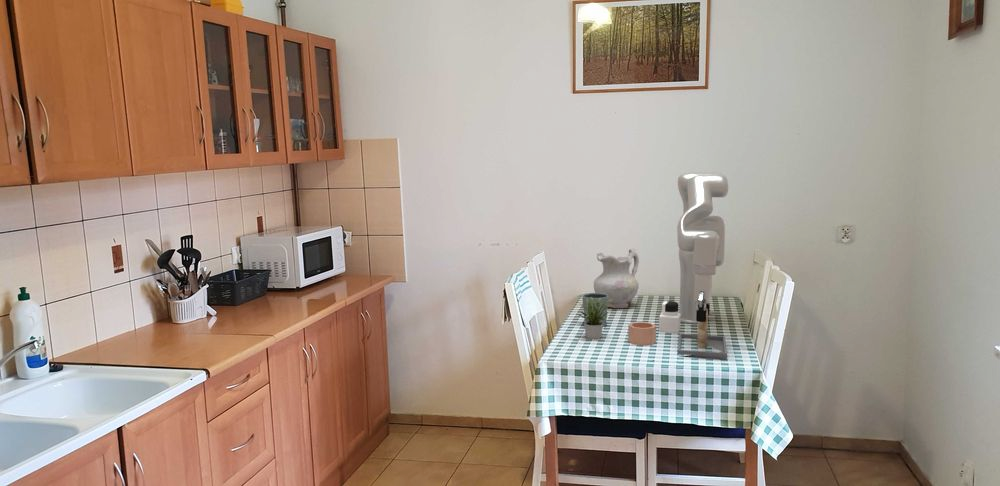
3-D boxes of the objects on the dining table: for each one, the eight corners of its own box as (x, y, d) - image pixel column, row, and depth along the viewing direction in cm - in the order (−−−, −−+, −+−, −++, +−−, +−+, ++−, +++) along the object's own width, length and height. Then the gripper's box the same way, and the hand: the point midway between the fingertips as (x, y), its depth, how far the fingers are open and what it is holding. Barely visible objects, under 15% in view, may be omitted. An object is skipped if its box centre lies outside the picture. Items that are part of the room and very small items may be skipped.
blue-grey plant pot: (610, 327, 283) (610, 297, 282) (584, 328, 282) (585, 298, 281) (604, 321, 293) (604, 292, 292) (579, 322, 292) (580, 292, 291)
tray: (679, 339, 265) (679, 333, 265) (725, 342, 261) (725, 336, 261) (677, 356, 244) (677, 350, 244) (727, 360, 240) (727, 353, 240)
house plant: (624, 339, 266) (624, 296, 263) (601, 347, 256) (601, 302, 254) (593, 333, 275) (593, 290, 273) (570, 340, 266) (570, 296, 264)
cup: (647, 340, 265) (647, 321, 264) (659, 346, 256) (659, 327, 255) (624, 342, 263) (625, 323, 262) (636, 348, 254) (636, 329, 253)
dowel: (703, 345, 254) (704, 307, 253) (708, 347, 251) (709, 309, 249) (695, 346, 254) (696, 308, 252) (700, 348, 251) (701, 310, 249)
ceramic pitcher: (616, 300, 336) (613, 247, 334) (651, 304, 321) (648, 248, 319) (586, 308, 321) (582, 252, 319) (621, 312, 307) (618, 254, 305)
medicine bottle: (680, 331, 277) (680, 300, 275) (678, 336, 270) (679, 304, 268) (661, 329, 279) (661, 299, 277) (658, 334, 272) (659, 303, 271)
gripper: (696, 264, 258) (695, 311, 261) (689, 273, 242) (688, 323, 245) (718, 266, 255) (716, 313, 258) (712, 274, 239) (711, 325, 242)
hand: (702, 318), depth 251 cm, fingers open, 9 cm apart
